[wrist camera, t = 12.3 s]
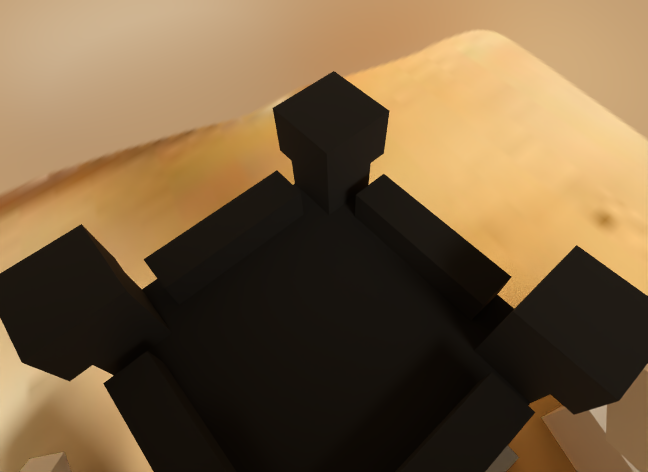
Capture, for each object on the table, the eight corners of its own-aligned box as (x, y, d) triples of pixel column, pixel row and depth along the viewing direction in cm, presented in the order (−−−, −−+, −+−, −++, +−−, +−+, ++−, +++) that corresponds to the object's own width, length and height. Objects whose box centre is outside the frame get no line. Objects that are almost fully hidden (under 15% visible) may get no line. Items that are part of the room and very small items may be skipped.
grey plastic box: (540, 417, 24) (583, 402, 20) (596, 387, 25) (649, 367, 21) (617, 534, 21) (687, 546, 17) (677, 497, 22) (759, 499, 18)
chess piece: (232, 430, 24) (-51, 281, 6) (338, 337, 26) (335, 53, 9) (326, 566, 20) (255, 986, 3) (436, 445, 23) (724, 322, 6)
